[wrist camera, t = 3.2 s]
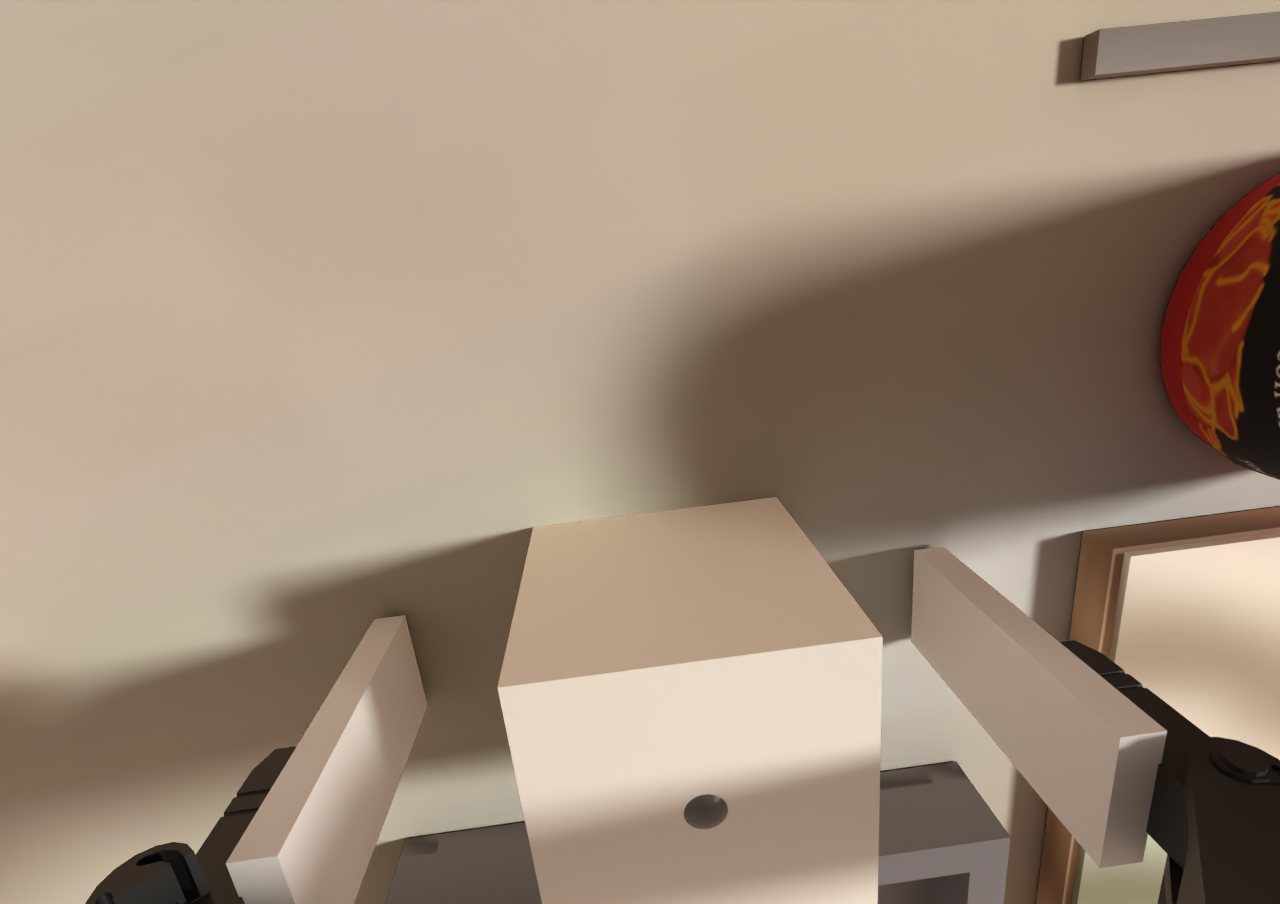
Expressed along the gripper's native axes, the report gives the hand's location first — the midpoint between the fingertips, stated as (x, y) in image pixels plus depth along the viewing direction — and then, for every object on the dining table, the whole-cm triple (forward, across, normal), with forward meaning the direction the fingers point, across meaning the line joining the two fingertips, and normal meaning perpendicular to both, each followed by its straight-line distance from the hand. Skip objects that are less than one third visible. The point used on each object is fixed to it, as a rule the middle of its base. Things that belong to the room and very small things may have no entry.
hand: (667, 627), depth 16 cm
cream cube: (0, 0, 0) cm, 0 cm away
